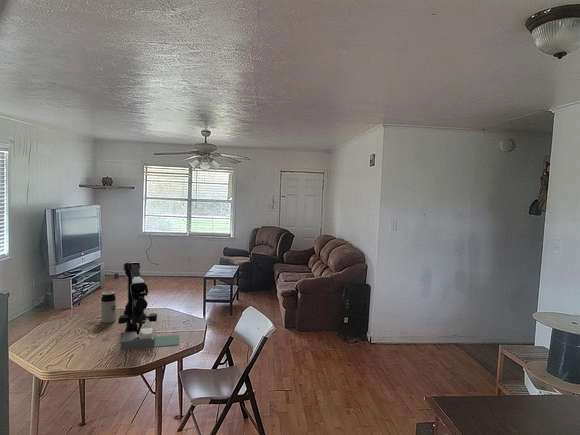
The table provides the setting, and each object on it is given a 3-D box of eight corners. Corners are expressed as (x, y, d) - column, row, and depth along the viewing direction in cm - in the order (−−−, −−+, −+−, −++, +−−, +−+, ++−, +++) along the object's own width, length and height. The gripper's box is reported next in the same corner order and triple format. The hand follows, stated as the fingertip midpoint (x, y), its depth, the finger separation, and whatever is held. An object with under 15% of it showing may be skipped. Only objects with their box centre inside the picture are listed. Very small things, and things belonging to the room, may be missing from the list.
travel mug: (98, 321, 233) (98, 293, 232) (110, 318, 240) (109, 290, 239) (107, 324, 230) (107, 294, 229) (118, 320, 237) (118, 292, 236)
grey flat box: (124, 340, 205) (124, 333, 205) (155, 337, 210) (155, 330, 210) (120, 349, 193) (120, 342, 193) (154, 346, 198) (154, 339, 197)
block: (140, 333, 206) (140, 328, 206) (152, 332, 207) (152, 327, 207) (139, 339, 197) (139, 334, 197) (151, 338, 199) (151, 333, 199)
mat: (156, 337, 211) (156, 336, 211) (178, 335, 214) (178, 334, 214) (155, 347, 197) (155, 346, 197) (179, 345, 201) (179, 344, 201)
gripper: (116, 310, 190) (116, 341, 191) (156, 308, 195) (155, 338, 196) (120, 304, 201) (119, 333, 201) (157, 302, 206) (157, 331, 207)
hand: (138, 334), depth 201 cm, fingers closed
